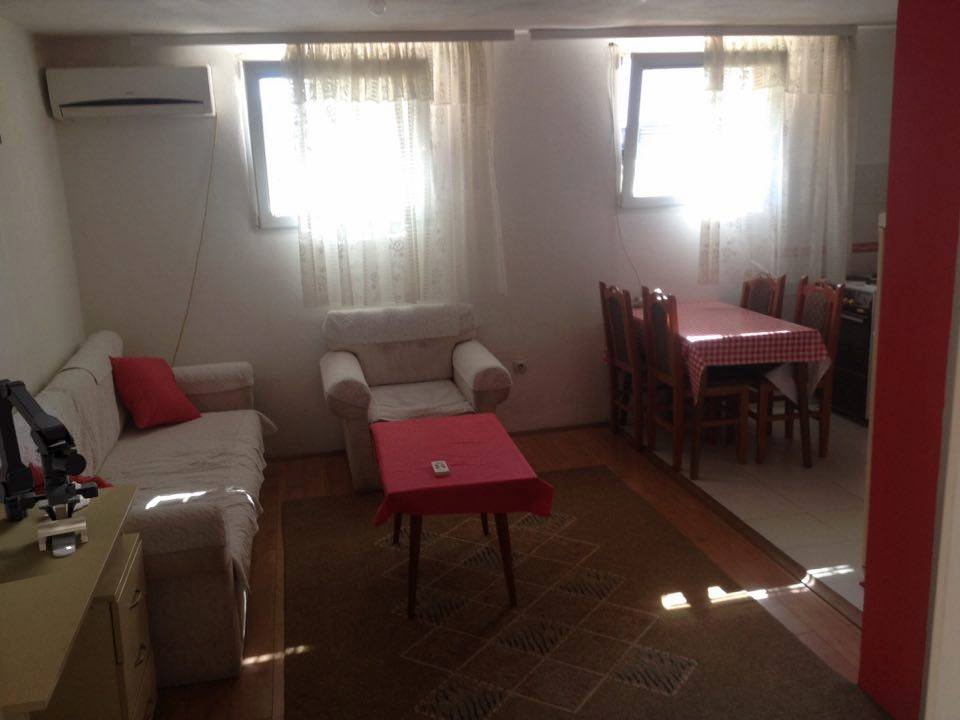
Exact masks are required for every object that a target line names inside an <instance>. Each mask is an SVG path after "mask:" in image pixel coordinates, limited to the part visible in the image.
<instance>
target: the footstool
mask: <svg viewBox="0 0 960 720" xmlns="http://www.w3.org/2000/svg"><path fill="white" fill-rule="evenodd" d="M72 531H75V532H77V531H80V537H81V543H82V544H83V543H87V542H89V538H88V529H87V522H86V515H85V514H84V515H78V516H73V517H72V518H67V519H61V520H56V521H52V520H50V521H45V522H40V523H37V540H38V547H39V551H40V552H42V551H43V552H44V551H47V543H46V542H47V537H50V536H51V537H52V535H56V534H61V533H67V532H72Z"/></svg>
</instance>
